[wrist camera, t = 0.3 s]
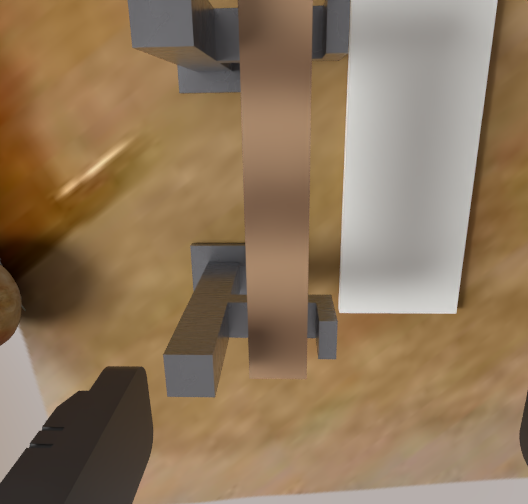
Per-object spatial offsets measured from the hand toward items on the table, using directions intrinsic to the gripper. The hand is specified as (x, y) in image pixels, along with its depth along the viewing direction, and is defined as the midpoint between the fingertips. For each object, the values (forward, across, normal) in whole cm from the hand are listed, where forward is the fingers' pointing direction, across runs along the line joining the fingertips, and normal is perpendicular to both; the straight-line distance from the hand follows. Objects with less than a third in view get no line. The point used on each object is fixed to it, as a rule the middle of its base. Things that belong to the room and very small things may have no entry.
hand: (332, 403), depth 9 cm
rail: (+17, +1, -1) cm, 17 cm away
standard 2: (+25, +3, -9) cm, 27 cm away
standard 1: (+25, +3, +7) cm, 26 cm away
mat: (+25, -8, -2) cm, 26 cm away
